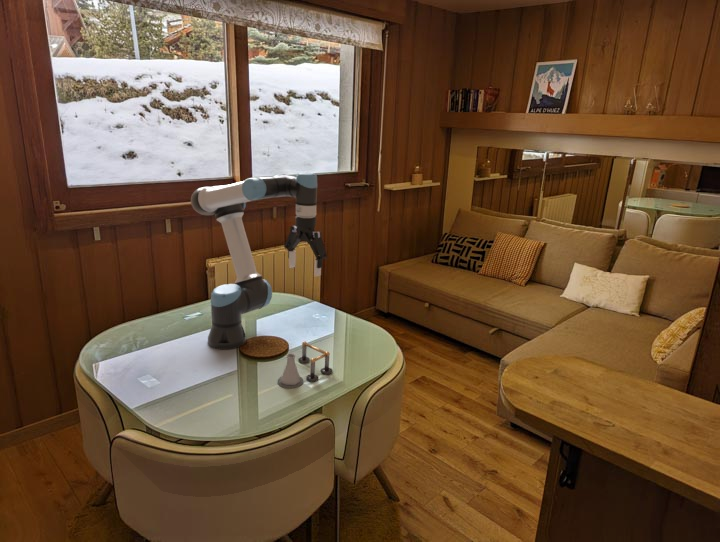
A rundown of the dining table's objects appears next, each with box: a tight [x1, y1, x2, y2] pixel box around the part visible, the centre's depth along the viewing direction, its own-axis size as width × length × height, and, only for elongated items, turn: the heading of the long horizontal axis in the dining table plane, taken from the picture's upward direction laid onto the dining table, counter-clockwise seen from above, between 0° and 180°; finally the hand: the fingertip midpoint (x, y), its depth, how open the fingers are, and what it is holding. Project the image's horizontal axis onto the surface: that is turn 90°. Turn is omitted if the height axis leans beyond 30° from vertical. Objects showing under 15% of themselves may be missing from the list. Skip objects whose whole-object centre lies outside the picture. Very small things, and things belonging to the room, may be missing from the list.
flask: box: [280, 353, 301, 385], centre depth 175 cm, size 7×7×10 cm
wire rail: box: [298, 340, 333, 383], centre depth 184 cm, size 16×12×8 cm
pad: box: [277, 376, 304, 389], centre depth 176 cm, size 9×9×1 cm
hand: (304, 271), depth 186 cm, fingers open, 13 cm apart
